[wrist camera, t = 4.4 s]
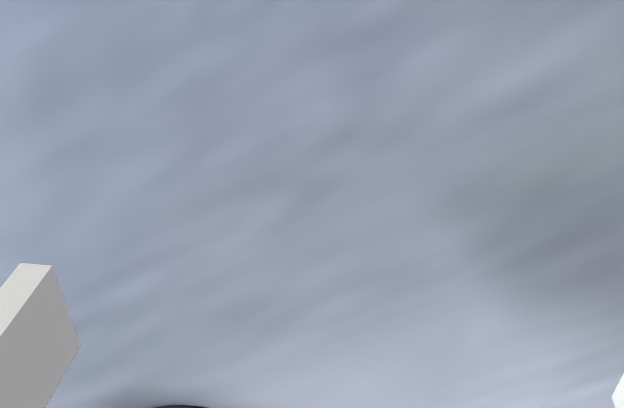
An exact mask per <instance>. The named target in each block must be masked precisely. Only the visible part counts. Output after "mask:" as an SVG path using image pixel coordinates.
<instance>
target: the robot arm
mask: <svg viewBox="0 0 624 408" xmlns="http://www.w3.org/2000/svg"><path fill="white" fill-rule="evenodd" d="M80 346H81V345H80V342H79V339H78V337H77V334H76V331H75V328H74V326H73V323H72V320H71V317H70V314H69V312H68V309H67V306H66V303H65V301H64V298H63V295H62V292H61V289H60V287H59V284H58V281H57V278H56V275H55V273H54V270H53V267H52V266H48V265H36V264H24V263H20V264H19V265H18V267H17V268H16V269H15V270H14V272H13V273H12V274H11V275H10V277H9V278H8V279H7V280H6V282H5V283H4V284H3V285H2V287H1V288H0V408H46V406H47V404H48V402H49V401H50V399H51V397H52V395H53V394H54V392H55V390H56V388H57V387H58V385H59V383H60V381H61V380H62V378H63V376H64V374H65V373H66V371H67V369H68V367H69V366H70V364H71V362H72V360H73V359H74V357H75V355H76V353H77V352H78V350H79V348H80ZM612 399H613V402H614V405H615V407H616V408H624V374H623V376H622V378H621V380H620V381H619V383H618V385H617V387H616V389H615V391H614V393H613V395H612ZM159 408H194V407H181V406H170V407H159Z"/></svg>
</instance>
